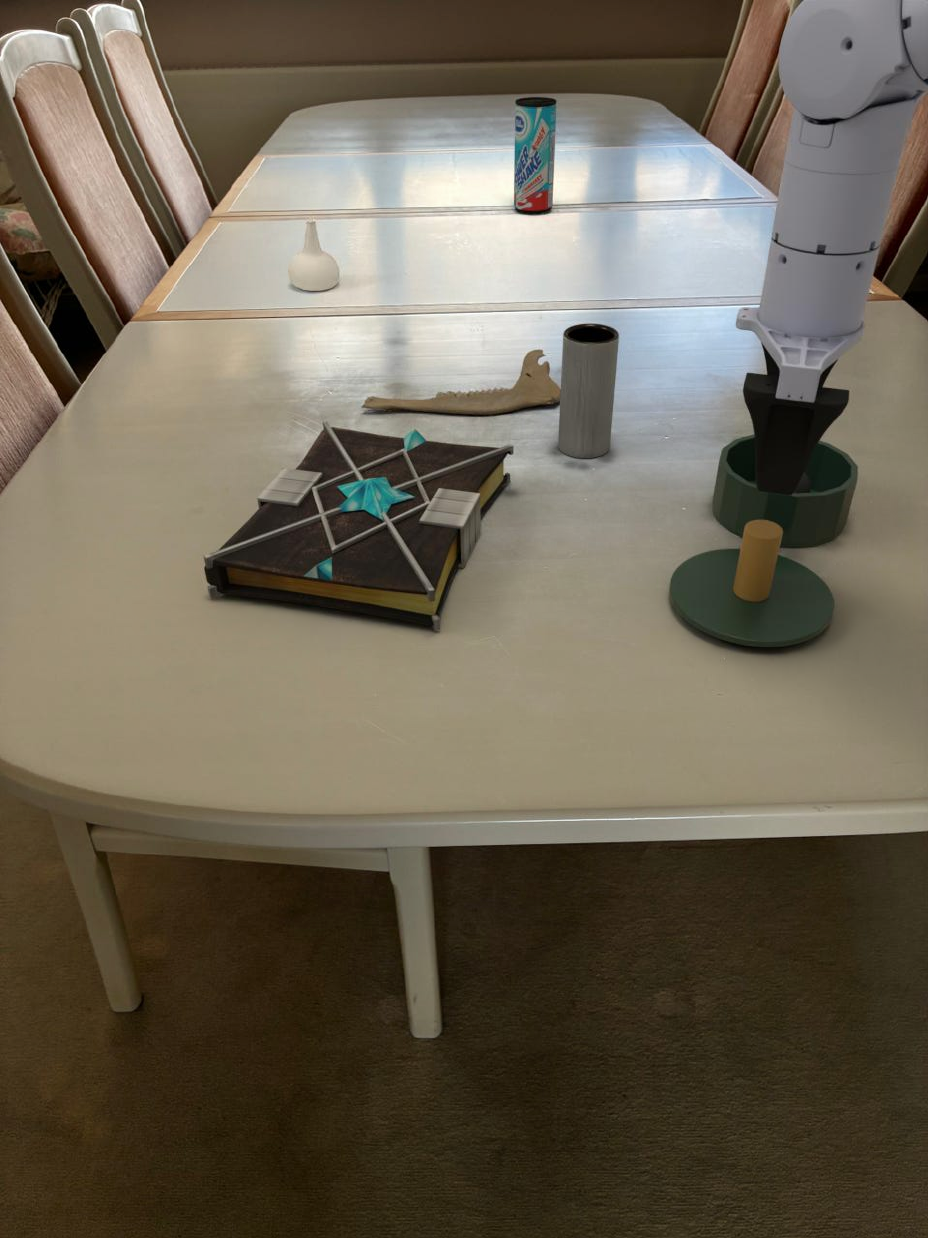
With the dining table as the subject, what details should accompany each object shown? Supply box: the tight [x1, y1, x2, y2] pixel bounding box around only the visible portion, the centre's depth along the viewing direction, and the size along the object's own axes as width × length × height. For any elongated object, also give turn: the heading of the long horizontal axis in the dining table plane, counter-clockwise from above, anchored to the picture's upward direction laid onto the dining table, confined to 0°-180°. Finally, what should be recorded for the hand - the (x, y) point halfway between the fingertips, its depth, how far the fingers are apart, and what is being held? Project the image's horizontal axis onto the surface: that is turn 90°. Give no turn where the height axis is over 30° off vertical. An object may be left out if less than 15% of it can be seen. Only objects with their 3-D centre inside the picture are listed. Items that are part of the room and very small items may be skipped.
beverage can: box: [513, 96, 558, 216], centre depth 142 cm, size 6×6×15 cm
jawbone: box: [361, 349, 561, 416], centre depth 91 cm, size 9×20×2 cm, turn 119°
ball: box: [793, 472, 811, 493], centre depth 74 cm, size 4×4×4 cm
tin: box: [711, 433, 859, 549], centre depth 74 cm, size 10×10×4 cm
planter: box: [557, 323, 620, 459], centre depth 81 cm, size 4×4×10 cm
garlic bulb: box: [287, 218, 340, 292], centre depth 118 cm, size 6×6×8 cm
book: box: [202, 420, 514, 632], centre depth 72 cm, size 22×17×5 cm
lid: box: [669, 520, 835, 648], centre depth 64 cm, size 11×11×6 cm
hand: (779, 461), depth 61 cm, fingers open, 7 cm apart
